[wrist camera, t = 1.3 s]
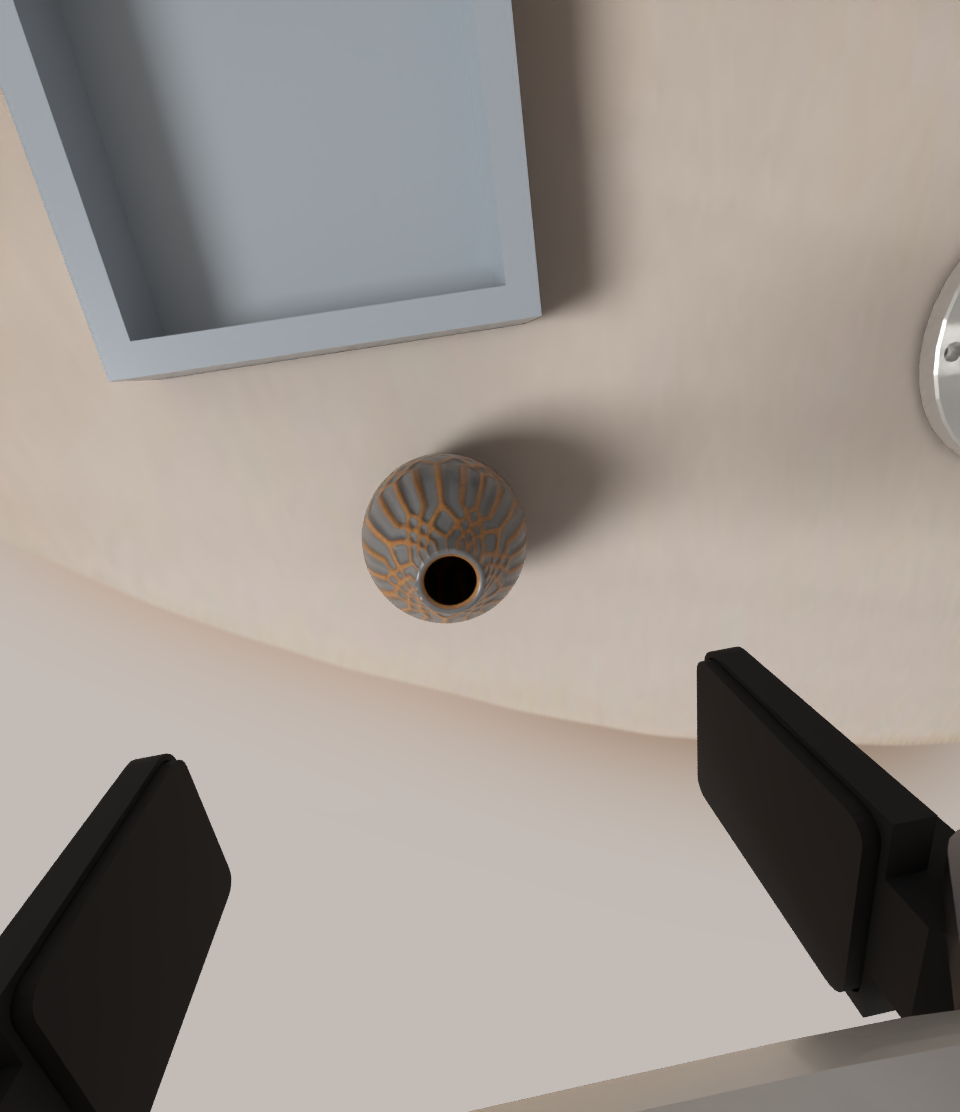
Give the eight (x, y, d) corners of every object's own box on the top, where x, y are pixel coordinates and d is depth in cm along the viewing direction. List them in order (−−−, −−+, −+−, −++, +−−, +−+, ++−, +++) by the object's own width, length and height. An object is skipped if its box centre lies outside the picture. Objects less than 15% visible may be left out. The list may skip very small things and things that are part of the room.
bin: (469, -184, 18) (480, -319, 15) (524, 323, 24) (541, 315, 20) (-13, -130, 17) (-125, -258, 14) (158, 379, 23) (108, 381, 19)
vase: (538, 530, 27) (588, 601, 19) (427, 605, 28) (428, 705, 19) (459, 414, 25) (477, 436, 16) (341, 499, 25) (301, 561, 17)
